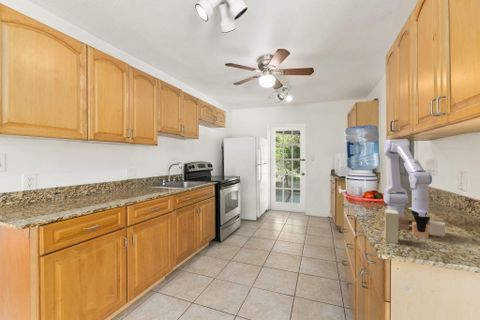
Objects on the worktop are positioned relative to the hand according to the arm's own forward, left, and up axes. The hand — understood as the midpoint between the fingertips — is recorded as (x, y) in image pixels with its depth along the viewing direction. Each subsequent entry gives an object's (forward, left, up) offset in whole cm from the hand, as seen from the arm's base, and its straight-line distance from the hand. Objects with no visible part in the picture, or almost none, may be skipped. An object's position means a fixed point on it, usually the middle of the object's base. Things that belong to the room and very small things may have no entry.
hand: (420, 229), depth 95 cm
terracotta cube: (0, 0, -3) cm, 3 cm away
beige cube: (-6, +6, -3) cm, 9 cm away
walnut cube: (-8, -7, -3) cm, 11 cm away
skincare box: (+15, -11, -3) cm, 18 cm away
